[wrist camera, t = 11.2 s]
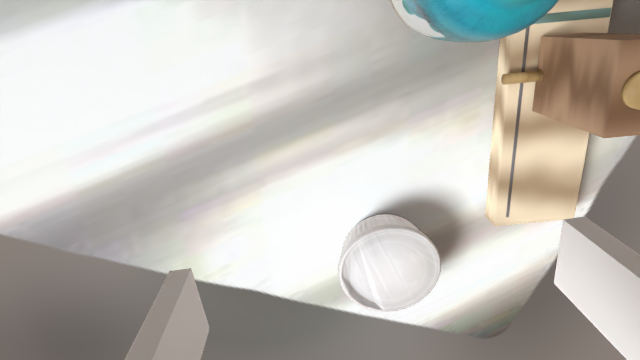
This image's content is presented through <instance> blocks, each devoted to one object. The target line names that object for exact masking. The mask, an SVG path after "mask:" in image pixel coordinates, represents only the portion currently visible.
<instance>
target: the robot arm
mask: <svg viewBox="0 0 640 360" xmlns="http://www.w3.org/2000/svg"><path fill="white" fill-rule="evenodd" d="M554 284H555V285H556V286H557V287H558V288H559V289H560V290H561V291H562V292H563V293H564V294H565V295H566V296H567V297H568V298H569V299H570V301H571V302H572V303H573V304H574V305H575V306H576V307H577V308H578V309H579V310H580V311H581V312H582V313H583V314H584V315H585V316H586V317H587V318H588V319H589V320H590V321H591V322H592V324H593V325H594V326H595V327H596V328H597V329H598V330H599V331H600V332H601V333H602V334H603V335H604V336H605V337H606V338H607V339H608V340H609V341H610V342H611V343H612V344H613V345H614V346H615V348H616V349H617V350H618V351H619V352H620V353H621V354H622V355H623V356H624V357H625V358H626V359H627V360H640V255H639V254H637V253H636V252H635V251H633V250H632V249H630V248H629V247H627V246H626V245H624V244H623V243H622V242H620V241H619V240H617V239H616V238H615V237H613V236H612V235H610V234H609V233H607V232H606V231H604V230H603V229H602V228H600V227H599V226H597V225H596V224H595V223H593V222H592V221H590V220H589V219H587V218H586V217H579V218H571V219H564V220H563V224H562V231H561V238H560V245H559V252H558V259H557V267H556V273H555V280H554ZM208 331H209V326H208V323H207V319H206V316H205V312H204V309H203V306H202V303H201V300H200V296H199V293H198V289H197V286H196V283H195V280H194V276H193V273H192V270H191V268H190V269H183V270H175V271H169V273H168V275H167V277H166V279H165V281H164V283H163V285H162V287H161V289H160V291H159V293H158V295H157V297H156V299H155V301H154V303H153V304H152V307H151V308H150V310H149V312H148V315H147V317H146V318H145V320H144V323H143V324H142V326H141V328H140V330H139V332H138V334H137V336H136V338H135V340H134V342H133V344H132V346H131V348H130V350H129V352H128V354H127V356H126V358H125V360H200V359H201V356H202V352H203V349H204V345H205V342H206V338H207V335H208Z"/></svg>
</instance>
